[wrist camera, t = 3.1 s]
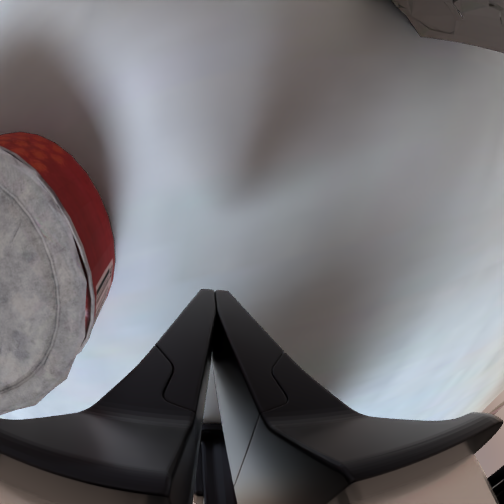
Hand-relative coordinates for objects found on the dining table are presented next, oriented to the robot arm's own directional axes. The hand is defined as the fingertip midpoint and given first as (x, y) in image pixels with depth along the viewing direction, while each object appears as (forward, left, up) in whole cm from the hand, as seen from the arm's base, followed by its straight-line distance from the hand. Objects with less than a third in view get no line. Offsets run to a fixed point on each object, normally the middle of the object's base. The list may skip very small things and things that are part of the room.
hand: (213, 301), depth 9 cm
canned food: (+9, 0, -3) cm, 10 cm away
